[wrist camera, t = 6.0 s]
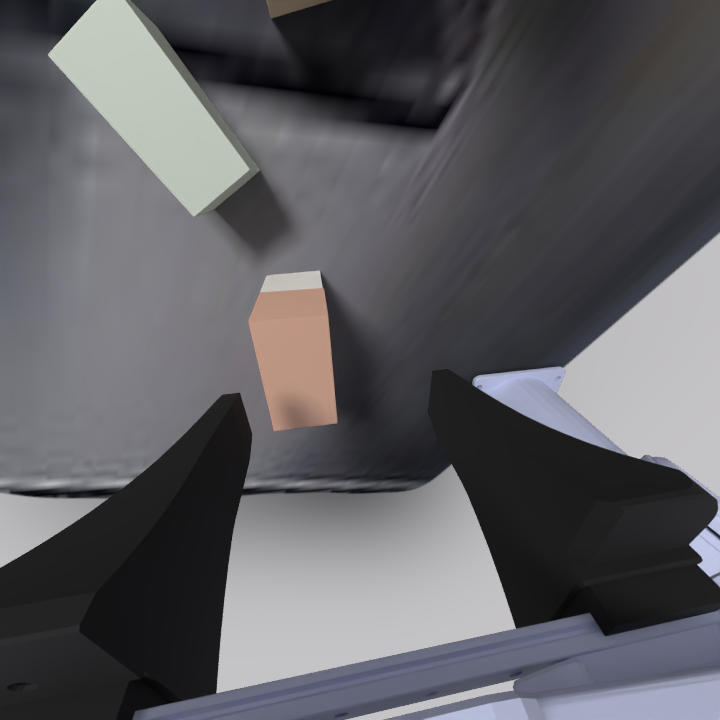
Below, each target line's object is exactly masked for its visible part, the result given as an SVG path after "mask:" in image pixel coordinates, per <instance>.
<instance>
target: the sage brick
mask: <svg viewBox="0 0 720 720" xmlns="http://www.w3.org/2000/svg"><path fill="white" fill-rule="evenodd" d="M48 56H49V57H50V58H51V59H52V60H53V61H54V62H55V64H56V65H57V66H58V67H59V68H60V69H61V70H62V71H63V72H64V74H65V75H66V76H67V77H68V78H69V79H70V80H71V81H72V82H73V84H74V85H75V86H76V87H77V88H78V89H79V90H80V91H81V92H82V93H83V95H84V96H85V97H86V98H87V99H88V100H89V101H90V102H91V103H92V105H93V106H94V107H95V108H96V109H97V110H98V111H99V112H100V113H101V115H102V116H103V117H104V118H105V119H106V120H107V121H108V122H109V123H110V125H111V126H112V127H113V128H114V129H115V130H116V131H117V132H118V133H119V134H120V136H121V137H122V138H123V139H124V140H125V141H126V142H127V143H128V144H129V146H130V147H131V148H132V149H133V150H134V151H135V152H136V153H137V154H138V156H139V157H140V158H141V159H142V160H143V161H144V162H145V163H146V164H147V166H148V167H149V168H150V169H151V170H152V171H153V172H154V173H155V174H156V175H157V177H158V178H159V179H160V180H161V181H162V182H163V183H164V184H165V185H166V187H167V188H168V189H169V190H170V191H171V192H172V193H173V194H174V195H175V197H176V198H177V199H178V200H179V201H180V202H181V203H182V204H183V205H184V207H185V208H186V209H187V210H188V211H189V212H190V213H191V214H192V215H193V216H194V217H195V216H198V215H201V214H203V213H206V212H209V211H211V210H214V209H215V208H216V207H218V206H219V205H220V204H221V203H222V202H224V201H225V200H226V199H227V198H228V197H229V196H231V195H232V194H233V193H234V192H235V191H237V190H238V189H239V188H240V187H241V186H243V185H244V184H245V183H246V182H247V181H248V180H250V179H251V178H252V177H253V176H254V175H256V174H257V173H258V172H259V171H260V169H259V168H258V167H257V165H256V164H255V162H254V161H253V160H252V158H251V157H250V155H249V154H248V153H247V151H246V150H245V148H244V147H243V146H242V144H241V143H240V142H239V140H238V139H237V137H236V136H235V135H234V133H233V132H232V130H231V129H230V128H229V126H228V125H227V123H226V122H225V121H224V119H223V118H222V117H221V115H220V114H219V112H218V111H217V110H216V108H215V107H214V105H213V104H212V103H211V101H210V100H209V99H208V97H207V96H206V94H205V93H204V92H203V90H202V89H201V87H200V86H199V85H198V83H197V82H196V80H195V79H194V78H193V76H192V75H191V74H190V72H189V71H188V69H187V68H186V67H185V65H184V64H183V62H182V61H181V60H180V58H179V57H178V55H177V54H176V53H175V51H174V50H173V49H172V47H171V46H170V44H169V43H168V42H167V40H166V39H165V37H164V36H163V35H162V33H161V32H160V30H159V29H158V28H157V27H156V26H155V25H154V24H153V23H152V22H151V21H150V20H149V19H148V18H147V17H146V16H145V15H144V14H143V13H142V12H141V11H140V10H139V9H138V8H137V7H136V6H135V5H134V4H133V3H132V2H131V1H130V0H97V1H96V2H95V3H94V4H93V5H92V6H91V7H90V8H89V9H88V11H87V12H86V13H85V14H84V15H83V16H82V17H81V18H80V19H79V21H78V22H77V23H76V24H75V25H74V26H73V27H72V28H71V29H70V31H69V32H68V33H67V34H66V35H65V36H64V37H63V38H62V39H61V41H60V42H59V43H58V44H57V45H56V46H55V47H54V48H53V49H52V50H51V52H50V53H49V54H48Z"/></svg>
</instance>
